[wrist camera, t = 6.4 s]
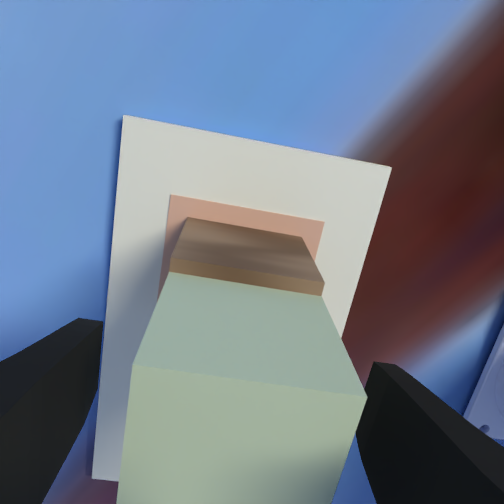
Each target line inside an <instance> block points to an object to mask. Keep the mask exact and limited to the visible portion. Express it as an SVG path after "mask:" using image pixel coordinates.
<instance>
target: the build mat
mask: <svg viewBox="0 0 504 504" xmlns="http://www.w3.org/2000/svg"><path fill="white" fill-rule="evenodd" d="M391 169H392V168H391V167H389V166H384V165H379V164H374V163H369V162H364V161H359V160H354V159H349V158H344V157H338V156H333V155H328V154H323V153H318V152H313V151H308V150H303V149H298V148H293V147H287V146H282V145H277V144H272V143H267V142H262V141H257V140H252V139H247V138H242V137H236V136H231V135H226V134H221V133H216V132H211V131H206V130H201V129H196V128H191V127H185V126H180V125H175V124H170V123H165V122H160V121H155V120H150V119H145V118H140V117H134V116H129V115H123V124H122V136H121V147H120V159H119V170H118V181H117V193H116V204H115V216H114V227H113V239H112V250H111V262H110V273H109V285H108V296H107V308H106V319H105V331H104V342H103V354H102V365H101V377H100V388H99V400H98V411H97V423H96V434H95V446H94V457H93V469H92V479H101V480H110V481H119V477H120V468H121V459H122V451H123V442H124V434H125V425H126V417H127V408H128V399H129V391H130V382H131V374H132V365H133V362H134V360H135V357H136V355H137V352H138V350H139V347H140V344H141V342H142V339H143V337H144V334H145V332H146V329H147V327H148V324H149V322H150V319H151V317H152V314H153V312H154V309H155V307H156V304H157V302H158V299H159V296H160V294H161V291H162V289H163V286H164V284H165V281H166V279H167V276H168V274H169V267H170V260H171V256H172V253H173V251H174V249H175V246H176V244H177V242H178V239H179V237H180V235H181V232H182V230H183V227H184V225H185V223H186V220H187V218H188V217H191V218H197V219H202V220H208V221H214V222H219V223H225V224H231V225H237V226H242V227H248V228H254V229H259V230H265V231H271V232H277V233H282V234H288V235H294V236H300V237H302V238H303V240H304V242H305V244H306V246H307V248H308V250H309V252H310V254H311V256H312V258H313V260H314V262H315V264H316V266H317V268H318V270H319V272H320V274H321V276H322V278H323V280H324V282H325V285H324V288H323V292H322V298H323V300H324V303H325V305H326V307H327V309H328V311H329V314H330V316H331V318H332V320H333V322H334V325H335V327H336V329H337V331H338V333H339V336H340V338H341V337H342V333H343V330H344V327H345V323H346V320H347V317H348V313H349V310H350V306H351V303H352V300H353V296H354V293H355V290H356V286H357V283H358V280H359V276H360V273H361V270H362V266H363V263H364V260H365V256H366V253H367V249H368V246H369V243H370V239H371V236H372V233H373V229H374V226H375V223H376V219H377V216H378V213H379V209H380V206H381V203H382V199H383V196H384V193H385V189H386V186H387V182H388V179H389V176H390V172H391Z"/></svg>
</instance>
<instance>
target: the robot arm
mask: <svg viewBox="0 0 504 504" xmlns="http://www.w3.org/2000/svg"><path fill="white" fill-rule="evenodd" d="M102 331H103V322H102V321H96V320H89V319H82V318H78V319H76V320H74V321H72V322H70V323H69V324H67V325H65V326H64V327H62V328H60V329H58V330H57V331H55V332H53V333H52V334H50V335H48V336H46V337H45V338H43V339H41V340H39V341H38V342H36V343H34V344H32V345H31V346H29V347H27V348H25V349H24V350H22V351H20V352H18V353H16V354H14V355H12V356H11V357H9V358H7V359H5V360H3V361H1V362H0V504H42V502H43V500H44V498H45V496H46V495H47V493H48V491H49V489H50V487H51V485H52V483H53V482H54V480H55V478H56V476H57V474H58V472H59V470H60V468H61V467H62V465H63V463H64V461H65V459H66V457H67V455H68V454H69V452H70V450H71V448H72V446H73V444H74V442H75V440H76V438H77V437H78V435H79V433H80V431H81V429H82V427H83V425H84V423H85V420H86V418H87V415H88V412H89V410H90V407H91V405H92V402H93V399H94V397H95V394H96V391H97V389H98V377H99V366H100V354H101V342H102ZM364 391H365V393H366V395H367V400H366V403H365V406H364V409H363V412H362V414H361V417H360V420H359V423H358V426H357V429H356V432H355V433H356V438H357V443H358V447H359V452H360V456H361V460H362V463H363V466H364V469H365V472H366V474H367V477H368V480H369V483H370V486H371V489H372V492H373V494H374V497H375V500H376V503H377V504H504V447H503V446H501V445H500V444H498V443H497V442H496V441H494V440H493V439H500V440H504V324H503V327H502V329H501V331H500V333H499V336H498V338H497V340H496V342H495V345H494V347H493V349H492V352H491V354H490V356H489V358H488V361H487V363H486V365H485V368H484V370H483V372H482V374H481V377H480V379H479V381H478V384H477V386H476V388H475V390H474V393H473V395H472V397H471V400H470V402H469V404H468V406H467V409H466V411H465V413H464V416H463V417H462V416H461V415H460V414H458V413H457V412H456V411H455V410H453V409H452V408H451V407H450V406H448V405H447V404H446V403H445V402H443V401H442V400H441V399H440V398H438V397H437V396H436V395H435V394H433V393H432V392H431V391H430V390H429V389H427V388H426V387H425V386H424V385H422V384H421V383H420V382H419V381H417V380H416V379H415V378H413V377H412V376H411V375H410V374H408V373H407V372H405V371H404V370H403V369H401V368H400V367H398V366H397V365H395V364H388V363H381V362H373V365H372V368H371V371H370V374H369V377H368V380H367V383H366V386H365V389H364ZM483 425H484V426H483ZM481 426H482V427H481ZM492 438H493V439H492Z"/></svg>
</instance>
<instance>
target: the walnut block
mask: <svg viewBox="0 0 504 504" xmlns="http://www.w3.org/2000/svg"><path fill="white" fill-rule="evenodd" d="M169 272H174V273H180V274H186V275H193V276H199V277H205V278H211V279H217V280H223V281H230V282H236V283H242V284H248V285H254V286H260V287H267V288H273V289H279V290H285V291H291V292H297V293H304V294H310V295H316V296H322V292H323V288H324V285H325V282H324V280H323V278H322V276H321V274H320V272H319V270H318V268H317V266H316V264H315V262H314V260H313V258H312V256H311V254H310V252H309V250H308V248H307V246H306V244H305V242H304V240H303V238H302V237H300V236H294V235H288V234H282V233H277V232H271V231H265V230H259V229H254V228H248V227H242V226H237V225H231V224H225V223H219V222H214V221H208V220H202V219H197V218H191V217H188V218H187V220H186V223H185V225H184V227H183V230H182V232H181V235H180V237H179V239H178V242H177V244H176V246H175V249H174V251H173V253H172V256H171V260H170V267H169Z"/></svg>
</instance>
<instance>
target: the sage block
mask: <svg viewBox="0 0 504 504" xmlns="http://www.w3.org/2000/svg"><path fill="white" fill-rule="evenodd" d="M366 400H367V395H366V393H365V391H364V388H363V386H362V384H361V382H360V380H359V377H358V375H357V373H356V371H355V369H354V366H353V364H352V362H351V360H350V358H349V355H348V353H347V351H346V349H345V347H344V344H343V342H342V340H341V338H340V336H339V333H338V331H337V329H336V327H335V325H334V322H333V320H332V318H331V316H330V314H329V311H328V309H327V307H326V305H325V303H324V300H323V298H322V296H316V295H310V294H304V293H297V292H291V291H285V290H279V289H273V288H267V287H260V286H254V285H248V284H242V283H236V282H230V281H223V280H217V279H211V278H205V277H199V276H193V275H186V274H180V273H174V272H169V274H168V276H167V279H166V281H165V284H164V286H163V289H162V291H161V294H160V296H159V299H158V302H157V304H156V307H155V309H154V312H153V314H152V317H151V319H150V322H149V324H148V327H147V329H146V332H145V334H144V337H143V339H142V342H141V344H140V347H139V350H138V352H137V355H136V357H135V360H134V362H133V365H132V374H131V382H130V391H129V399H128V408H127V417H126V425H125V434H124V442H123V451H122V459H121V468H120V477H119V485H118V494H117V502H116V504H331V502H332V500H333V497H334V494H335V491H336V488H337V485H338V482H339V479H340V476H341V473H342V470H343V467H344V464H345V461H346V458H347V456H348V453H349V450H350V447H351V444H352V441H353V438H354V435H355V432H356V429H357V426H358V423H359V420H360V417H361V414H362V412H363V409H364V406H365V403H366Z"/></svg>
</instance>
